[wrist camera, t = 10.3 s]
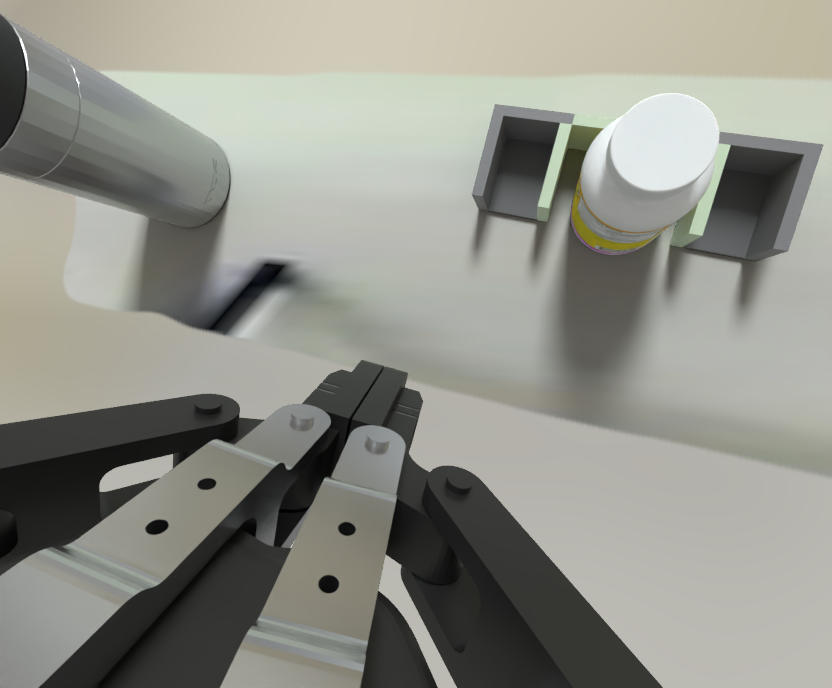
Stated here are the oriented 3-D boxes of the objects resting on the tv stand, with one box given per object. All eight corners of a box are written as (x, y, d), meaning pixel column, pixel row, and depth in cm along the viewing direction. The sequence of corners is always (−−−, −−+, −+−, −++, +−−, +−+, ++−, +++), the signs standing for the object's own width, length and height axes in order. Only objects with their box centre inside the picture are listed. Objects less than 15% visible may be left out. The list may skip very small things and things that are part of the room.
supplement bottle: (624, 150, 32) (680, 38, 20) (684, 215, 31) (782, 141, 19) (550, 210, 34) (560, 141, 21) (606, 275, 33) (649, 241, 20)
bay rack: (478, 209, 35) (472, 194, 31) (499, 129, 35) (495, 104, 31) (755, 261, 30) (787, 251, 26) (785, 168, 30) (823, 144, 26)
